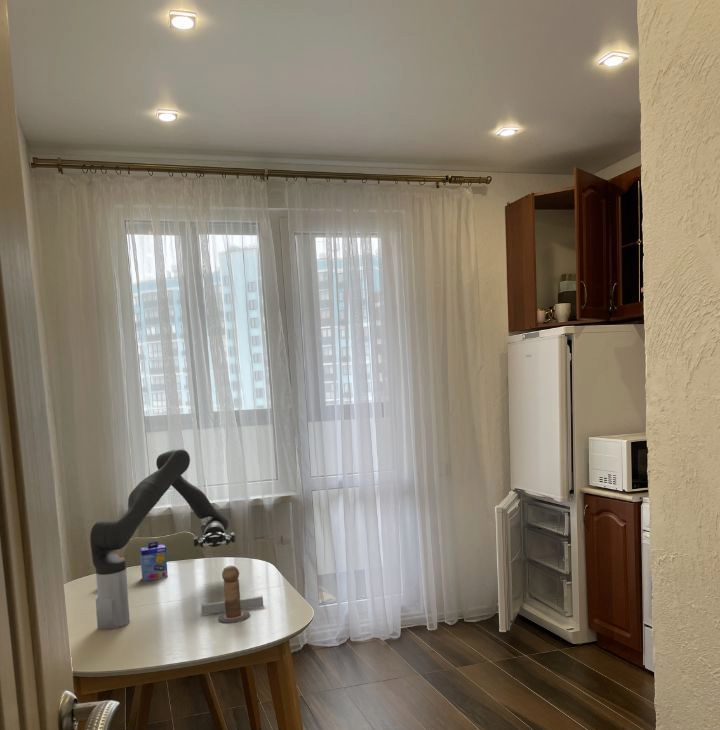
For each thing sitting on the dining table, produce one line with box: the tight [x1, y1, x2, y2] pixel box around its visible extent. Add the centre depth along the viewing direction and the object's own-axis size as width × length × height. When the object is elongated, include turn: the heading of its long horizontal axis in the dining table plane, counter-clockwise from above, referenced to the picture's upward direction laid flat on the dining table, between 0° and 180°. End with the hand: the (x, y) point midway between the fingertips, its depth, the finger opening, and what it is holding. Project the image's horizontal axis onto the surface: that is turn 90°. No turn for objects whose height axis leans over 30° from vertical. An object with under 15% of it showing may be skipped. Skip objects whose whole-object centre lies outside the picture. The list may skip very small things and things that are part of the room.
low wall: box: [200, 595, 264, 616], centre depth 222 cm, size 20×2×3 cm, turn 103°
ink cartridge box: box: [139, 540, 169, 582], centre depth 269 cm, size 10×6×14 cm, turn 115°
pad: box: [217, 609, 250, 624], centre depth 215 cm, size 10×10×1 cm
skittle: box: [221, 565, 242, 618], centre depth 215 cm, size 5×5×16 cm
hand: (214, 543), depth 232 cm, fingers open, 8 cm apart
